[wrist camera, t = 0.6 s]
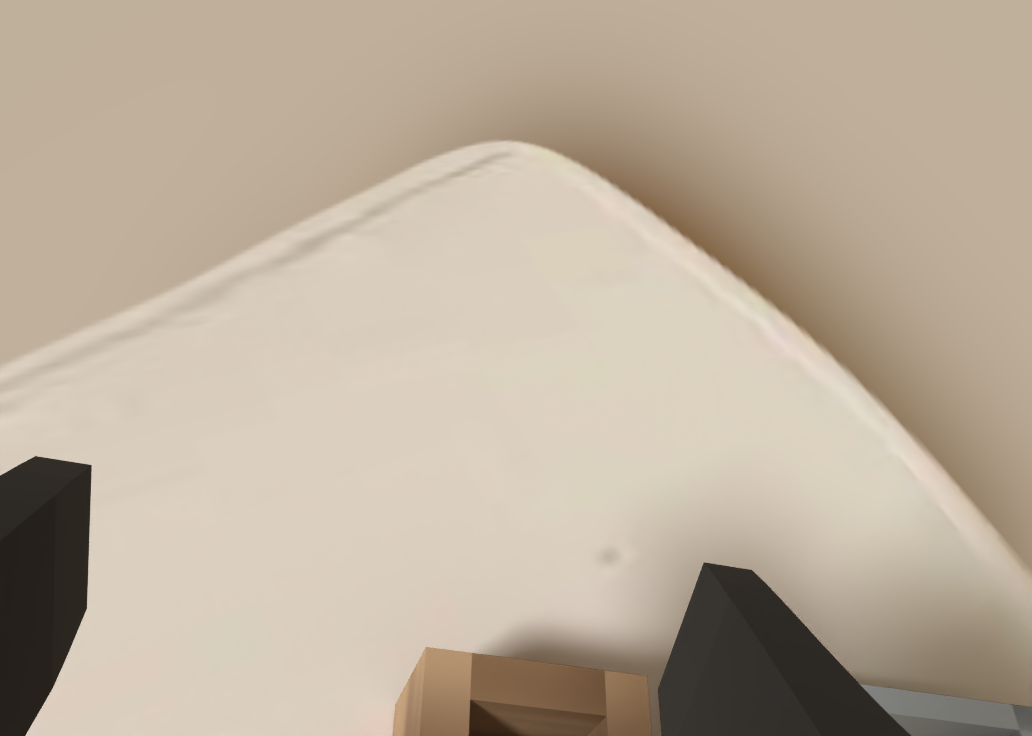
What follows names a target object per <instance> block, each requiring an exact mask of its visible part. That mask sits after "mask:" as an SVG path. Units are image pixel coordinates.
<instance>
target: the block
mask: <svg viewBox="0 0 1032 736" xmlns="http://www.w3.org/2000/svg"><path fill="white" fill-rule="evenodd" d="M393 736H652V732H651V719H650V707H649V694H648V681H647V676H643V675H636V674H628V673H620V672H613V671H605V670H597V669H590V668H582V667H574V666H567V665H559V664H551V663H544V662H536V661H528V660H521V659H513V658H506V657H498V656H490V655H483V654H475V653H467V652H460V651H452V650H444V649H437V648H429V647H426V648H425V650H424V652H423V654H422V656H421V657H420V659H419V661H418V663H417V665H416V667H415V669H414V671H413V673H412V674H411V676H410V678H409V680H408V682H407V684H406V686H405V688H404V689H403V691H402V693H401V695H400V697H399V699H398V701H397V703H396V707H395V718H394V729H393Z"/></svg>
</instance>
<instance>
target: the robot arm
mask: <svg viewBox="0 0 1032 736" xmlns="http://www.w3.org/2000/svg"><path fill="white" fill-rule="evenodd" d="M91 466H92V465H87V464H81V463H74V462H68V461H62V460H56V459H49V458H43V457H37V456H35V457H33V458H32V459H30V460H28V461H26V462H24V463H22V464H20V465H18V466H17V467H15V468H13V469H11V470H9V471H8V472H6V473H4V474H2V475H1V476H0V736H25V735H26V733H27V731H28V730H29V728H30V726H31V725H32V723H33V721H34V719H35V718H36V716H37V714H38V713H39V711H40V709H41V708H42V706H43V704H44V702H45V700H46V699H47V697H48V695H49V693H50V692H51V690H52V688H53V686H54V684H55V682H56V679H57V677H58V675H59V673H60V670H61V668H62V666H63V664H64V661H65V659H66V657H67V655H68V652H69V650H70V648H71V645H72V643H73V640H74V638H75V635H76V633H77V631H78V628H79V626H80V623H81V621H82V619H83V616H84V614H85V611H86V609H87V586H88V556H89V526H90V496H91ZM658 696H659V708H660V720H661V732H662V736H911V735H910V734H909V733H908V732H907V731H906V730H905V729H904V728H903V727H902V726H901V725H899V724H898V723H897V722H896V721H895V720H894V719H893V718H892V717H891V716H890V715H889V714H888V713H887V712H886V711H885V710H884V709H883V708H882V707H881V706H880V705H879V704H878V703H877V702H876V701H875V700H874V698H873V697H872V696H871V695H870V694H869V693H868V692H867V691H866V690H865V689H864V688H863V687H862V686H861V685H860V684H859V683H858V682H857V681H856V680H855V679H854V678H853V677H852V676H851V675H850V673H849V672H848V671H847V670H846V669H845V668H844V667H843V666H842V665H841V664H840V663H839V662H838V661H837V660H836V659H835V658H834V656H833V655H832V654H831V653H830V652H829V651H828V650H827V649H826V648H825V647H824V646H823V645H822V644H821V642H820V641H819V640H818V639H817V638H816V637H815V636H814V635H813V634H812V633H811V632H810V630H809V629H808V628H807V627H806V626H805V625H804V624H803V623H802V622H801V621H800V620H799V619H798V617H797V616H796V615H795V614H794V613H793V612H792V611H791V610H790V609H789V608H788V607H787V606H786V604H785V603H784V602H783V601H782V600H781V599H780V598H779V597H778V596H777V595H776V594H775V593H774V592H773V591H772V590H771V588H770V587H769V586H768V585H767V584H766V583H765V582H764V581H763V580H762V579H761V578H760V577H758V576H757V575H756V574H755V573H754V572H753V571H752V570H748V569H741V568H735V567H729V566H722V565H716V564H710V563H704V564H703V566H702V569H701V572H700V575H699V577H698V580H697V583H696V586H695V589H694V591H693V594H692V597H691V600H690V602H689V605H688V608H687V611H686V613H685V616H684V619H683V622H682V624H681V627H680V630H679V633H678V635H677V638H676V641H675V644H674V647H673V649H672V652H671V655H670V658H669V660H668V663H667V666H666V669H665V671H664V674H663V677H662V680H661V682H660V685H659V688H658Z"/></svg>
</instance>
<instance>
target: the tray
mask: <svg viewBox="0 0 1032 736" xmlns="http://www.w3.org/2000/svg"><path fill="white" fill-rule="evenodd" d="M860 685H861V686H862V687H863V688H864V689H865V690H866V691H867V692H868V693H869V694H870V695H871V696H872V697H873V698H874V700H875V701H876V702H877V703H878V704H879V705H880V706H881V707H882V708H883V709H884V710H885V711H886V712H887V713H888V714H889V715H890V716H891V717H892V718H893V719H894V720H895V721H896V722H897V723H898V724H899V725H901V726H902V727H903V728H904V729H905V730H906V731H907V732H908V733H909V734H910V735H911V736H1032V707H1026V706H1019V705H1011V704H1004V703H997V702H989V701H982V700H975V699H967V698H960V697H952V696H945V695H938V694H930V693H923V692H916V691H908V690H901V689H893V688H886V687H879V686H871V685H864V684H860Z"/></svg>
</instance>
